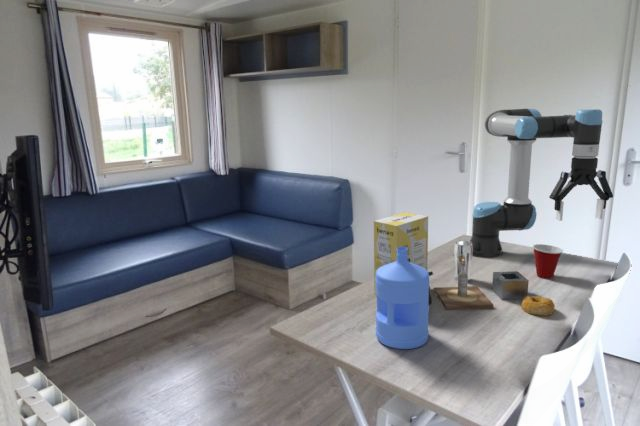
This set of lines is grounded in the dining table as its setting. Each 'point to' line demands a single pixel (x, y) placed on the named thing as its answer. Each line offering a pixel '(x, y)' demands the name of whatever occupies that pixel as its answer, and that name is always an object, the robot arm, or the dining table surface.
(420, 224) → the pasta box
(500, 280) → the collar
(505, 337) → the dining table surface
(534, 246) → the plastic cup
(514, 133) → the robot arm
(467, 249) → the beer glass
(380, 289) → the water jug
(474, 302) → the post stand
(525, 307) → the bagel
